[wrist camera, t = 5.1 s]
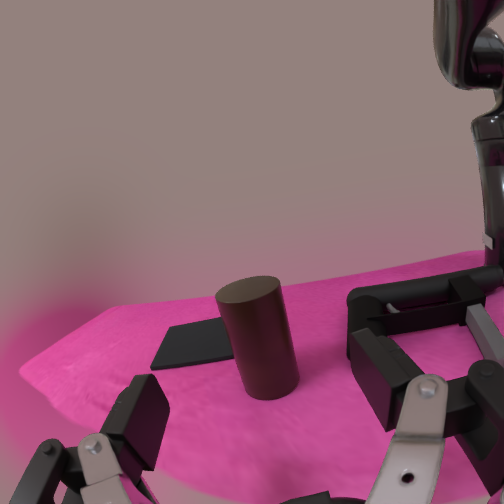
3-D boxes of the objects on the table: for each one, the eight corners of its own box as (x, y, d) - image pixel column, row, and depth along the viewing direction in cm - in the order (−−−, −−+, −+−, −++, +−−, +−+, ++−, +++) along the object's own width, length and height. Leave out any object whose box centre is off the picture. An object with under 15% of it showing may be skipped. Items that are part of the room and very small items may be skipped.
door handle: (560, 327, 9) (491, 256, 23) (339, 381, 16) (345, 280, 31) (548, 358, 10) (489, 280, 24) (341, 409, 17) (348, 304, 31)
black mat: (238, 316, 36) (238, 313, 36) (238, 357, 27) (237, 353, 26) (170, 329, 36) (169, 326, 36) (151, 370, 27) (149, 367, 27)
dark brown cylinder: (294, 359, 24) (275, 271, 22) (304, 392, 19) (284, 291, 17) (244, 371, 24) (217, 284, 22) (245, 405, 19) (211, 308, 17)
